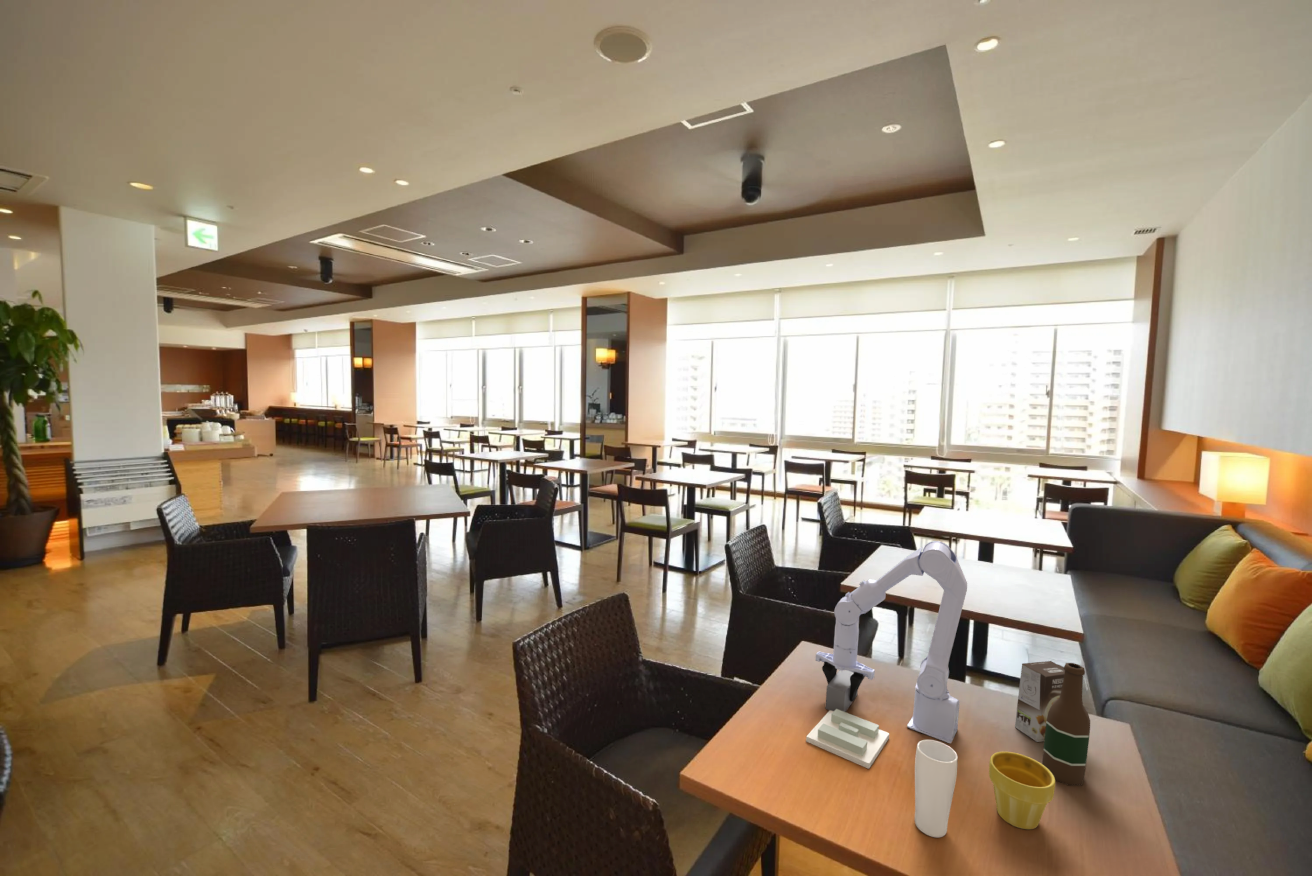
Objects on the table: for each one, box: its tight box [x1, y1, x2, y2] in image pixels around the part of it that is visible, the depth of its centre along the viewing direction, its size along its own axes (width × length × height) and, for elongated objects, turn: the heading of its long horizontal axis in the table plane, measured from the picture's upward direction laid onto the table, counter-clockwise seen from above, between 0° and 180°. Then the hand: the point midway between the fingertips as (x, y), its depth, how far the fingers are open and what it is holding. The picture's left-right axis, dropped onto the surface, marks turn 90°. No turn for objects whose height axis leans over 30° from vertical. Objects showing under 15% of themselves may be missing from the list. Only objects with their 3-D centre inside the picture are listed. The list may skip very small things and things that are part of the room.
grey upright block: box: [824, 670, 859, 713], centre depth 146 cm, size 4×12×6 cm, turn 145°
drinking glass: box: [914, 739, 959, 838], centre depth 104 cm, size 7×7×15 cm
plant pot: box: [988, 751, 1056, 830], centre depth 107 cm, size 10×10×10 cm
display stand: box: [805, 709, 890, 770], centre depth 130 cm, size 14×14×3 cm
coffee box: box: [1014, 660, 1065, 743], centre depth 135 cm, size 9×6×16 cm
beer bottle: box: [1041, 662, 1091, 786], centre depth 120 cm, size 8×8×24 cm
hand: (842, 696), depth 146 cm, fingers closed on grey upright block, 5 cm apart
